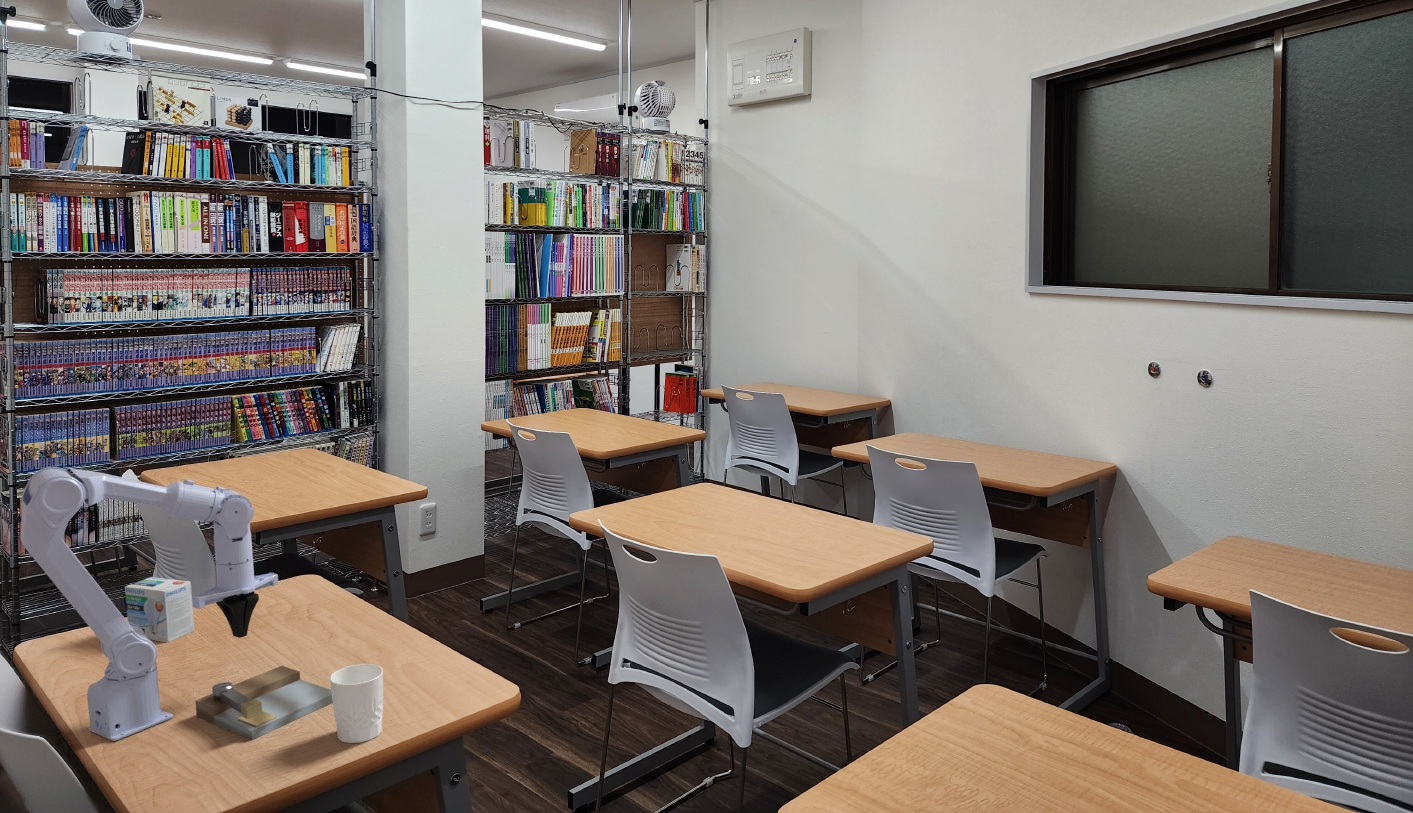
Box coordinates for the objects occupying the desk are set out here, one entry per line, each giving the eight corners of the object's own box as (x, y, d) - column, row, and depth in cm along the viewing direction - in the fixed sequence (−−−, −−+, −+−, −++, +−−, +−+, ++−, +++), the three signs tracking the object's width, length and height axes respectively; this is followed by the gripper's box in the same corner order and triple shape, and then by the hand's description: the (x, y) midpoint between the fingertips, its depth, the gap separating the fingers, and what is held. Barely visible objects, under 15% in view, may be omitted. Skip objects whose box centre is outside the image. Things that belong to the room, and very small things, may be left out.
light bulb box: (127, 637, 189) (122, 586, 187) (155, 625, 195) (151, 575, 194) (169, 643, 186) (164, 591, 184) (196, 630, 192) (192, 580, 191)
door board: (252, 739, 146) (251, 721, 146) (196, 717, 154) (195, 699, 154) (338, 700, 160) (337, 683, 160) (283, 681, 168) (281, 665, 167)
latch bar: (210, 696, 154) (209, 685, 154) (228, 690, 157) (227, 679, 156) (245, 720, 146) (244, 708, 146) (264, 713, 148) (263, 701, 148)
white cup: (334, 726, 151) (330, 667, 149) (385, 718, 153) (382, 660, 152) (333, 749, 143) (329, 688, 142) (387, 740, 146) (383, 680, 145)
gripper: (206, 575, 152) (213, 654, 154) (286, 553, 164) (291, 626, 166) (182, 568, 155) (188, 646, 157) (262, 547, 168) (267, 619, 170)
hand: (240, 635), depth 162 cm, fingers closed
